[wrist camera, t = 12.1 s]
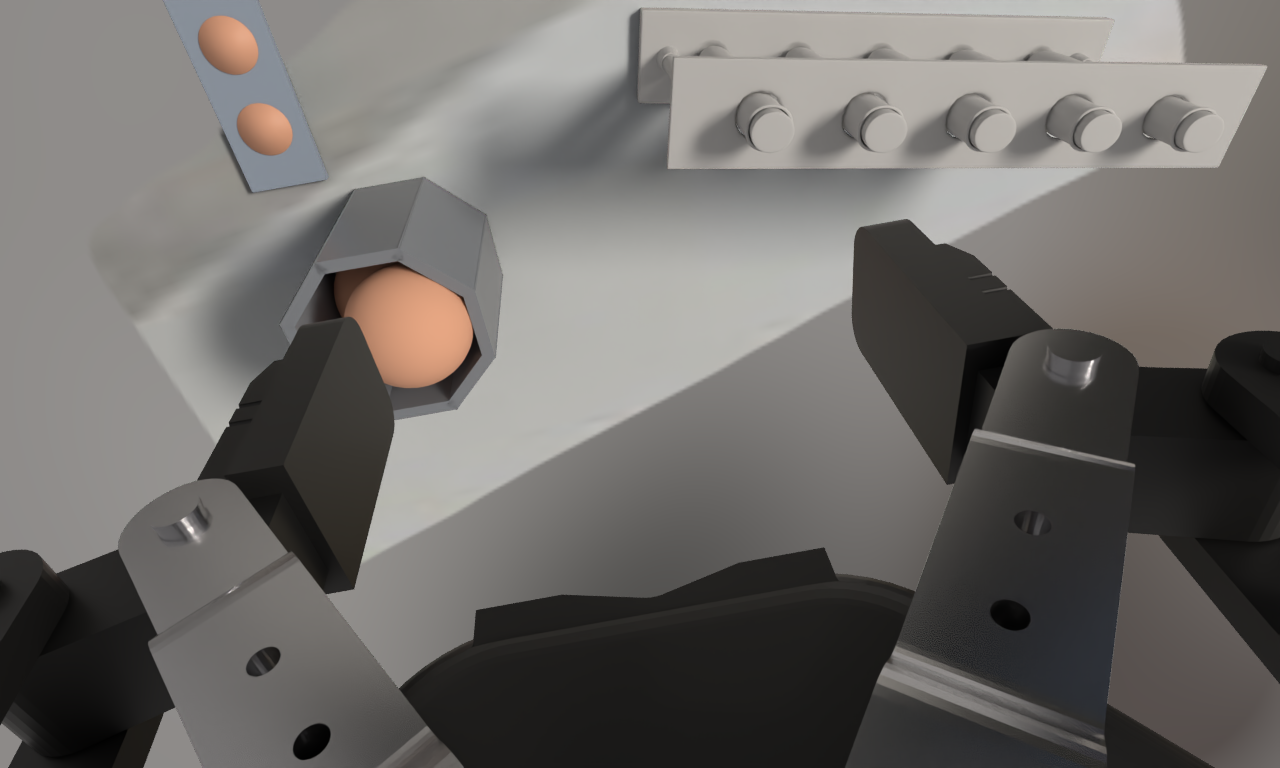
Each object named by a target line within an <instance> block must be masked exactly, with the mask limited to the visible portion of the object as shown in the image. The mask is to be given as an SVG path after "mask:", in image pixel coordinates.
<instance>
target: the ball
mask: <svg viewBox="0 0 1280 768" xmlns="http://www.w3.org/2000/svg"><path fill="white" fill-rule="evenodd" d="M344 317H352V318H354V319H355V320H356V322H357V323H358V324H359V326H360V328H361V330H362V332H363V335H364V337H365V339H366V342H367V344H368V346H369V349H370V351H371V353H372V356H373V358H374V360H375V363H376V365H377V368H378V370H379V372H380V375H381V377H382V379H383V382H384V383H385V384H388V385H391V386H395V387H401V388H419V387H425V386H429V385H432V384H435V383H437V382H439V381H441V380H443V379H445V378H446V377H448V376H449V375H450V374H452V373H453V372H454V371H455V370H456V369H457V368H458V367H459V366H460V365H461V363H462V362H463V361H464V359H465V357H466V355H467V354H468V352H469V349H470V347H471V343H472V339H473V333H474V329H473V325H472V322H471V319H470V316H469V313H468V310H467V307H466V303H465V300H464V297H462V296H460V295H459V294H457V293H455V292H453V291H451V290H449V289H448V288H446V287H444V286H442V285H440V284H439V283H437V282H435V281H433V280H431V279H429V278H428V277H426V276H424V275H422V274H420V273H418V272H417V271H415V270H413V269H411V268H409V267H408V266H406V265H404V264H402V263H401V264H395V265H390V266H387V267H384V268H381V269H379V270H377V271H375V272H373V273H372V274H370V275H369V276H367V277H366V278H365V279H363V281H362V282H361V283H360V284H359V285H358V286H357V287H356V288H355V290H354V291H353V293H352V294H351V296H350V298H349V300H348V302H347V305H346V308H345V313H344Z"/></svg>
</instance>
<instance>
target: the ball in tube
mask: <svg viewBox="0 0 1280 768" xmlns="http://www.w3.org/2000/svg"><path fill="white" fill-rule="evenodd" d="M395 264H401V263H400V262H398V261H395V262H390V263H384V264H378V265H373V266H367V267H361V268H356V269H350V270H344V271H339V272H337V273H336V276H335V281H334V297H335V302H336V306H337V308H338V311H339V313H340V315H341V317H342V318H344V313H345V308H346V305H347V302H348V300H349V298H350V296H351V294H352V293H353V291H354V290H355V288H356V287H357V286H358V285H359V284H360V283H361V282H362V281H363V279H365V278H366V277H367V276H369V275H370V274H372V273H373V272H375V271H377V270H379V269H381V268H384V267H387V266H390V265H395Z"/></svg>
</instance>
